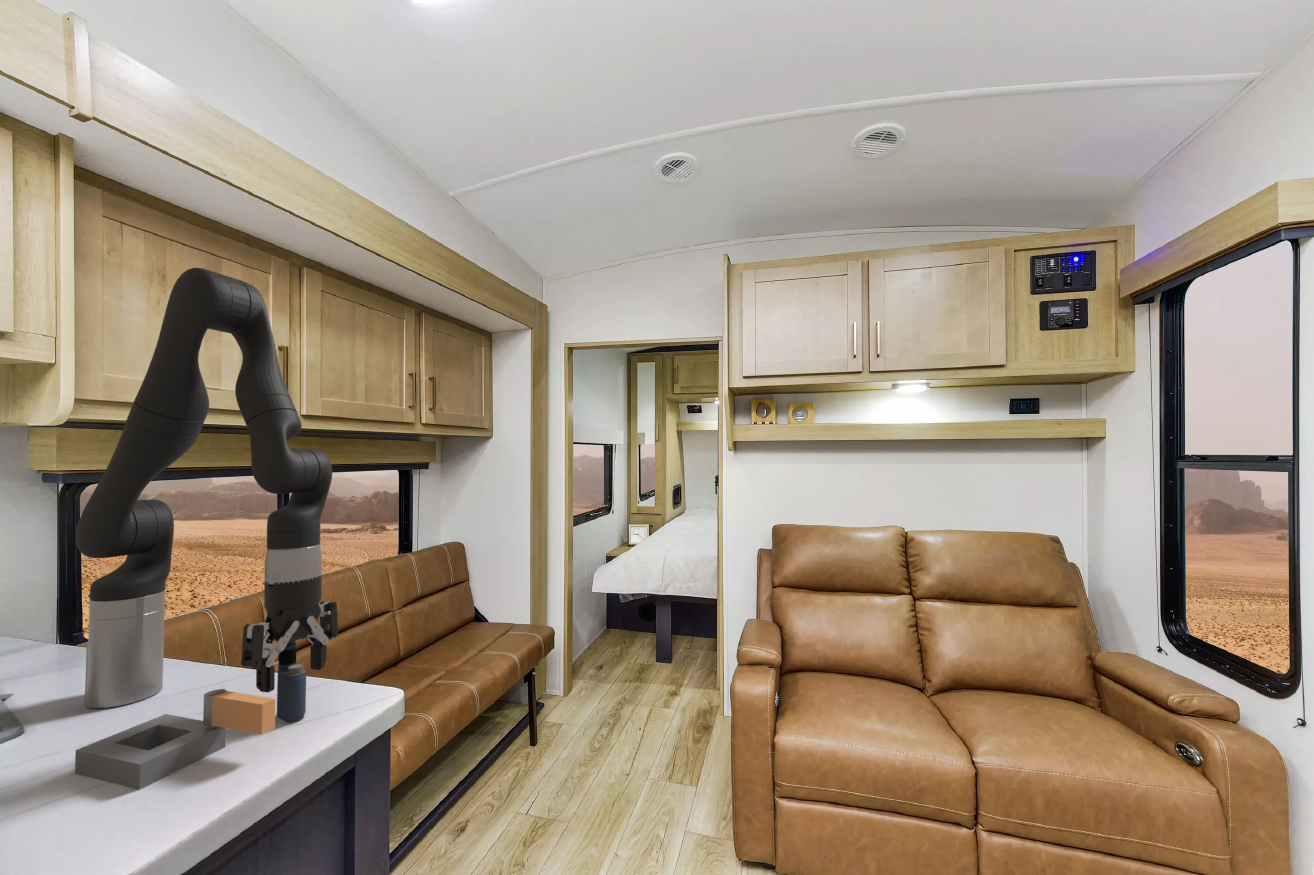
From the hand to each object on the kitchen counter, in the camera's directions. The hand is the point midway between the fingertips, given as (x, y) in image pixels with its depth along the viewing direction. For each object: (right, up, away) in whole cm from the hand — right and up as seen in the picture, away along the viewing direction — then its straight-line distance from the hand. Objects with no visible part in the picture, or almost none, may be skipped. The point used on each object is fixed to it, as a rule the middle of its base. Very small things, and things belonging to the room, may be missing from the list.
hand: (293, 679), depth 83 cm
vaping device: (0, -6, 0) cm, 6 cm away
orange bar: (-1, -2, -10) cm, 10 cm away
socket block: (-11, -6, -12) cm, 17 cm away
